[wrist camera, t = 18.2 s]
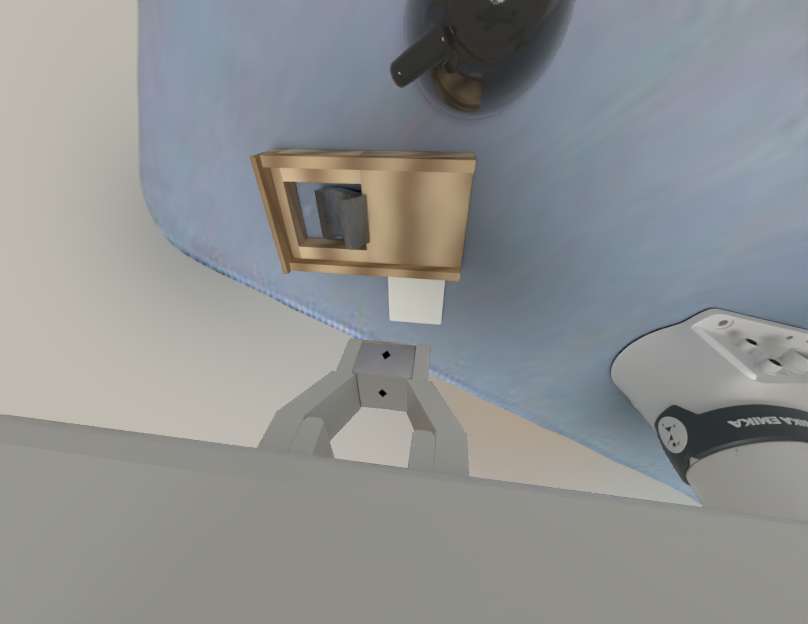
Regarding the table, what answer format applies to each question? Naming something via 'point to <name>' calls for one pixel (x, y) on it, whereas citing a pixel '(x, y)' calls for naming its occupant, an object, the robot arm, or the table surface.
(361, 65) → the table surface
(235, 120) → the table surface
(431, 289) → the white square plate
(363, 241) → the clip
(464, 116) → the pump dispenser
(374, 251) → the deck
